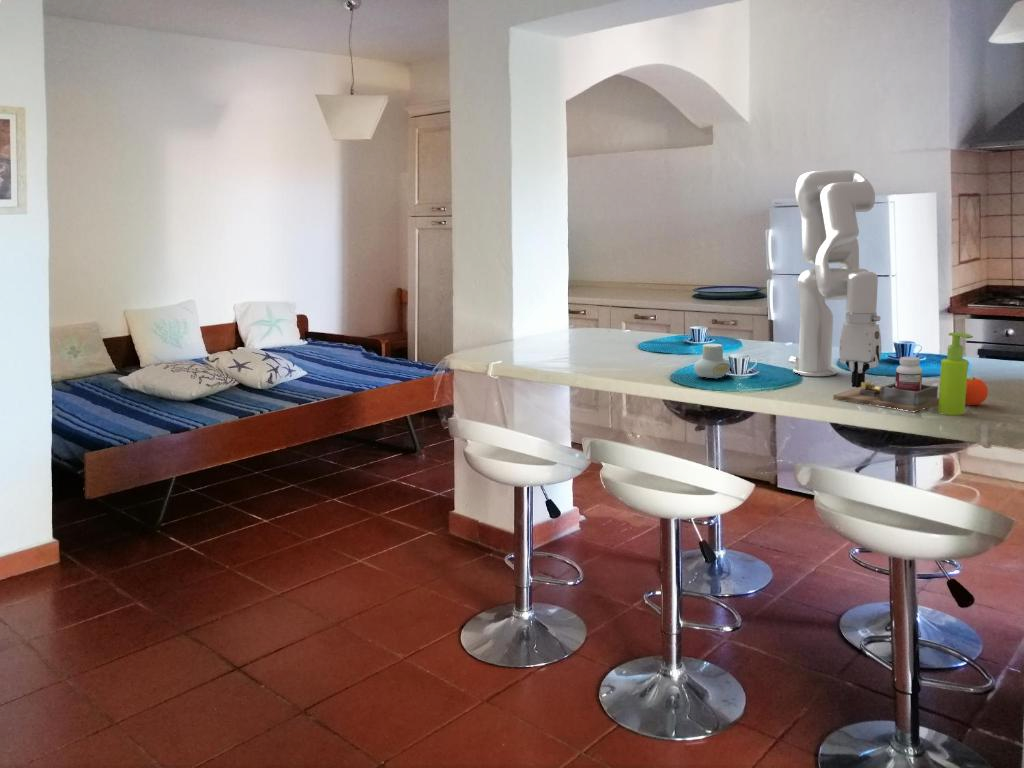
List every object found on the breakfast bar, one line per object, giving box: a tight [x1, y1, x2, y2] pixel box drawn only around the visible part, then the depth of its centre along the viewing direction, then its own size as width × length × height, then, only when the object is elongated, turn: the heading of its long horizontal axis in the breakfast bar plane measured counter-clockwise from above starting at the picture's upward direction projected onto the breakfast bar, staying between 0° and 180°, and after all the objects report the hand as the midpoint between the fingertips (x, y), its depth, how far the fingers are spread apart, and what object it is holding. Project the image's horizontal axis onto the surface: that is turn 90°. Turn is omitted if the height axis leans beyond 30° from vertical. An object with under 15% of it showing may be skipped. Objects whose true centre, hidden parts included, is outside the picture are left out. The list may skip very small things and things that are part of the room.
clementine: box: [965, 377, 989, 406], centre depth 229 cm, size 8×7×7 cm
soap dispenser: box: [937, 332, 974, 416], centre depth 220 cm, size 6×7×20 cm
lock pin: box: [861, 380, 883, 394], centre depth 237 cm, size 9×3×3 cm, turn 39°
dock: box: [832, 382, 939, 411], centre depth 236 cm, size 22×14×5 cm, turn 39°
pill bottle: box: [894, 356, 923, 392], centre depth 231 cm, size 6×6×11 cm
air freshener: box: [693, 343, 731, 378], centre depth 273 cm, size 11×8×10 cm
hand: (857, 386), depth 242 cm, fingers closed
